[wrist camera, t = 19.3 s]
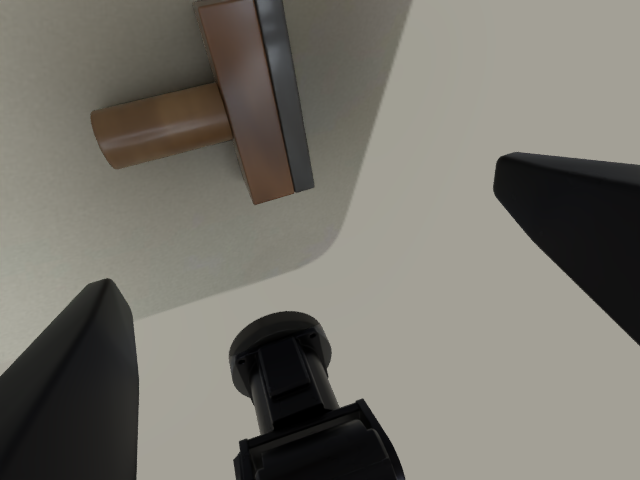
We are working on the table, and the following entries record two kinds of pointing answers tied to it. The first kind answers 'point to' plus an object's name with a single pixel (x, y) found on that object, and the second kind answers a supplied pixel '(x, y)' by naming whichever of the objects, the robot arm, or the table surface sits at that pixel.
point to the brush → (225, 104)
